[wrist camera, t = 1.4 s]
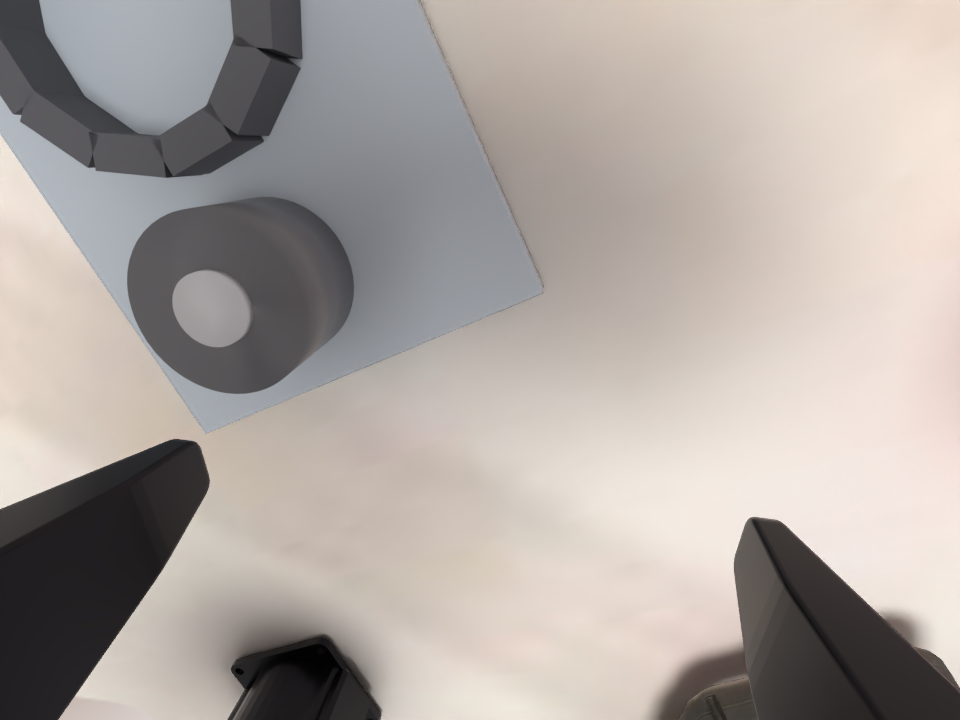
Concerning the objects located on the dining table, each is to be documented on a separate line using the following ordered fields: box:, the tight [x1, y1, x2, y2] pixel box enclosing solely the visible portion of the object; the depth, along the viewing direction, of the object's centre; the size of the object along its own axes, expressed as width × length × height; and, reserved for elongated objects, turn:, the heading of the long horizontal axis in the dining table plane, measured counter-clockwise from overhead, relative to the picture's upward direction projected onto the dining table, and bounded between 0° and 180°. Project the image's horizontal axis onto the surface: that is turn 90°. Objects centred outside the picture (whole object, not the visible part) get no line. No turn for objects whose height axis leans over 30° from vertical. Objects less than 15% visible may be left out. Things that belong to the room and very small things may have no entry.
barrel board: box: [0, 0, 544, 434], centre depth 18 cm, size 16×20×3 cm
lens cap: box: [127, 197, 354, 394], centre depth 19 cm, size 6×6×4 cm
